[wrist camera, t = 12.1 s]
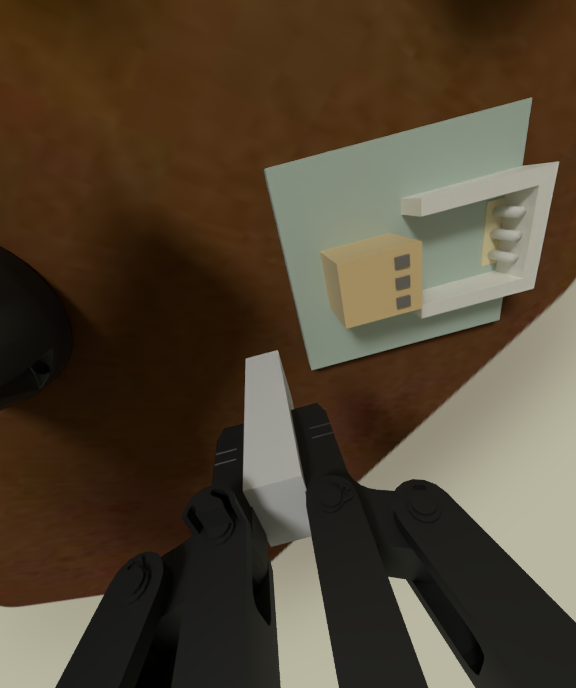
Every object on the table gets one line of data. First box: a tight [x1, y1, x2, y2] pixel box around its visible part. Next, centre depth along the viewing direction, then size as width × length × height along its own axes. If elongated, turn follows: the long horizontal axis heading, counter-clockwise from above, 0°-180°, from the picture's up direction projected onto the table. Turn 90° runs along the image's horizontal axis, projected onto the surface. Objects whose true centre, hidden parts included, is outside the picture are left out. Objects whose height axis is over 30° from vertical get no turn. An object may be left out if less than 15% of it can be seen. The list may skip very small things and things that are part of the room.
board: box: [264, 98, 559, 370], centre depth 24 cm, size 20×18×4 cm
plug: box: [320, 233, 422, 329], centre depth 22 cm, size 6×5×5 cm
